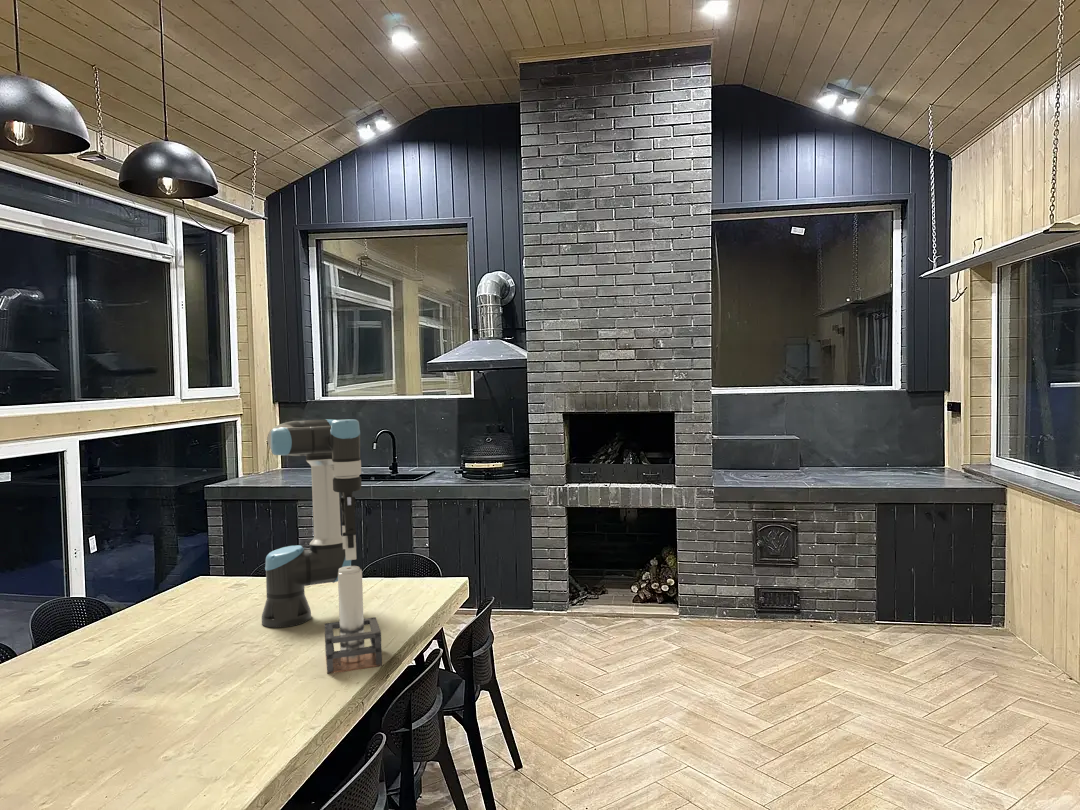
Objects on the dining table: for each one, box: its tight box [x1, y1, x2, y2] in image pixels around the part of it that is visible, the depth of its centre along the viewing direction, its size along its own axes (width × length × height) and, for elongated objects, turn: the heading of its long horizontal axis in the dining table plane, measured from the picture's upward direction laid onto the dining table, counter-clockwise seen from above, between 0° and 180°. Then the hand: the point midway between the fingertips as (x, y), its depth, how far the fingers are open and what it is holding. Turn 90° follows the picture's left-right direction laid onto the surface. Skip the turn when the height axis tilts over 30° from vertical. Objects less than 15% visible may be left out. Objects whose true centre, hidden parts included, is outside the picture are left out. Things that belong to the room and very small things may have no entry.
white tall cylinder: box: [337, 565, 365, 663], centre depth 193 cm, size 6×6×25 cm
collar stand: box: [324, 616, 383, 675], centre depth 194 cm, size 14×14×9 cm
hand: (349, 554), depth 193 cm, fingers open, 13 cm apart
